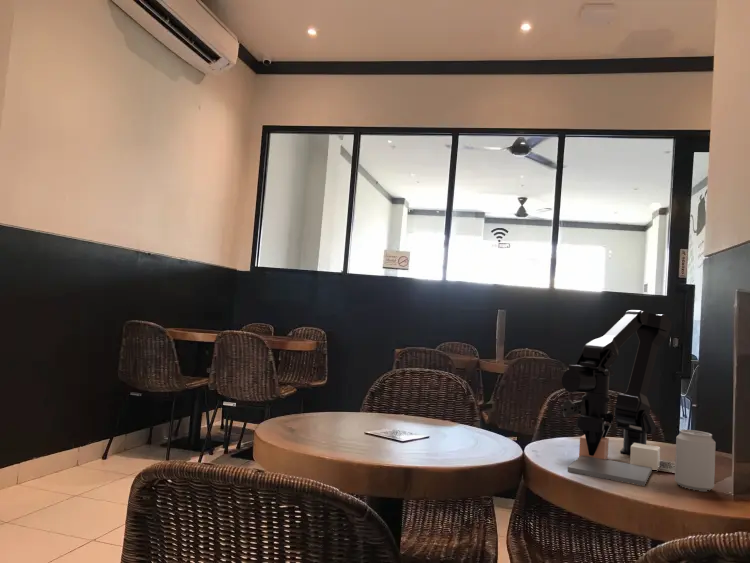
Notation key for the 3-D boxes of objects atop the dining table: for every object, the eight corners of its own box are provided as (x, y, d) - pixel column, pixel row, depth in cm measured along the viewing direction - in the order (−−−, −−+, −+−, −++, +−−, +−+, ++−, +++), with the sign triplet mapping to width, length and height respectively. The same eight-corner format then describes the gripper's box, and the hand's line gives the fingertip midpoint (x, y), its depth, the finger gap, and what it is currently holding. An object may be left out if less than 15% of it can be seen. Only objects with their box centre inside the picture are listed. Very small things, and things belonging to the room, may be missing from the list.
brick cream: (633, 462, 147) (633, 442, 147) (659, 467, 144) (660, 446, 144) (629, 466, 142) (630, 446, 142) (657, 471, 138) (657, 450, 139)
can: (719, 494, 121) (721, 436, 122) (680, 489, 123) (682, 432, 124) (706, 484, 129) (708, 430, 129) (670, 480, 130) (672, 426, 131)
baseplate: (581, 459, 145) (581, 455, 145) (651, 471, 137) (651, 467, 137) (567, 471, 132) (567, 467, 132) (644, 486, 124) (644, 481, 124)
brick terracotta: (583, 453, 153) (584, 434, 153) (607, 457, 150) (608, 438, 150) (579, 457, 148) (580, 437, 148) (603, 461, 145) (604, 441, 145)
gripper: (572, 386, 162) (569, 442, 161) (556, 390, 146) (553, 453, 145) (614, 391, 156) (612, 449, 155) (603, 396, 140) (600, 462, 139)
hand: (593, 453), depth 149 cm, fingers closed on brick terracotta, 6 cm apart
